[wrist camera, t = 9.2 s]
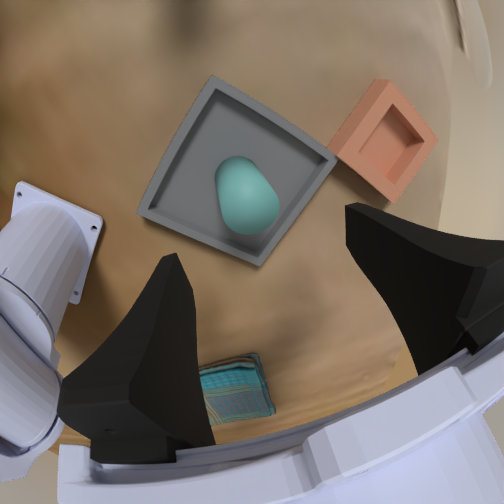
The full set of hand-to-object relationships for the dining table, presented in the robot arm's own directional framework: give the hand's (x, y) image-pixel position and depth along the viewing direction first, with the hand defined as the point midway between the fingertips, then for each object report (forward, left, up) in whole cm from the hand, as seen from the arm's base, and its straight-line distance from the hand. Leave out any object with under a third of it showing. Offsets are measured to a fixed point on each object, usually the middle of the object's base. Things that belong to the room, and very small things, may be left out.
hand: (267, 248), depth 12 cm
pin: (0, 0, -9) cm, 9 cm away
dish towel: (-30, -10, -10) cm, 33 cm away
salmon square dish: (+9, -8, -9) cm, 15 cm away
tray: (0, 0, -9) cm, 9 cm away
